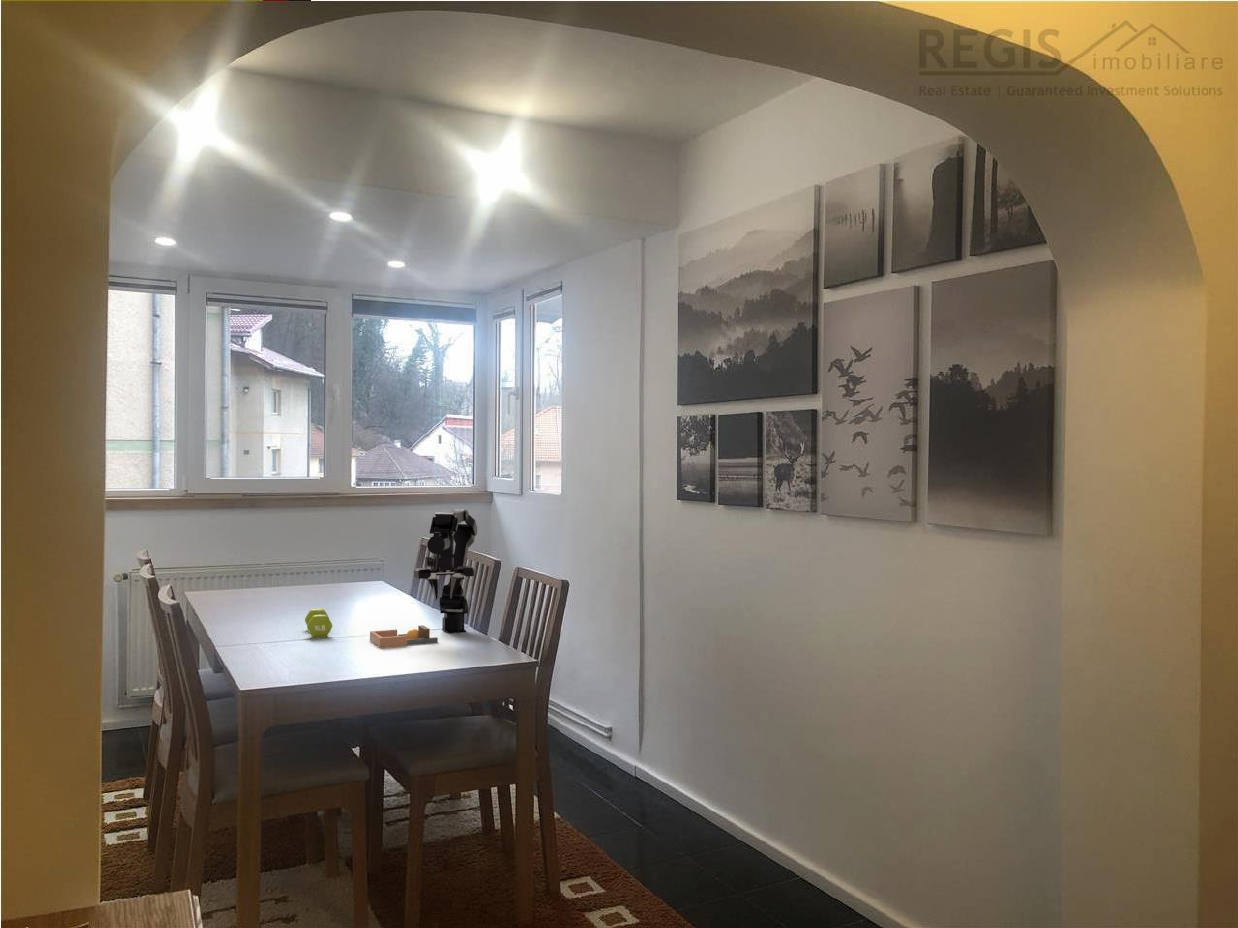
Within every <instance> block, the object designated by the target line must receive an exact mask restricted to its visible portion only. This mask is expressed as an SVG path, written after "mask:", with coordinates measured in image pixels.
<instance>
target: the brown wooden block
mask: <svg viewBox="0 0 1238 928" xmlns="http://www.w3.org/2000/svg"><path fill="white" fill-rule="evenodd" d="M417 630H418V631H419V634H420V636H419V638H418V639H420V638H431V637H430V634H431V633H430V632H431V631H430V630H431V628H428V627H427V626H425V625H418V629H417Z"/></svg>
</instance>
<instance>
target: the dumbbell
mask: <svg viewBox="0 0 1238 928" xmlns="http://www.w3.org/2000/svg"><path fill="white" fill-rule="evenodd" d="M304 622H305V624H306V628H307V630H308V632H309V634H310V635H311V637H312V638H314V639H315V638H317V637H319V638H326V637H327V636H329V633H331V630H332V628H333V623H332V621H331V620H330V617H329V615H328V613H327V611H326V610H325V609H323V608H312V609H310V610H309V611H308V613H307V614H306V615H305V618H304Z"/></svg>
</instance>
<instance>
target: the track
mask: <svg viewBox="0 0 1238 928" xmlns="http://www.w3.org/2000/svg"><path fill="white" fill-rule="evenodd" d="M397 636H407V633H403V634H402V633H401V634H399V633H398V634H397ZM438 642H439V638H438V637H437V636H435V637H430V638H420V639H419V638H418V639H408V638H407V646H410V645H421V644H422V645H423V644H434V643H435V644H437V643H438Z"/></svg>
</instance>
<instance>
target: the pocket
mask: <svg viewBox="0 0 1238 928" xmlns="http://www.w3.org/2000/svg"><path fill="white" fill-rule="evenodd" d="M407 640H408V639H407V636H398V629H386V630H385V629H383V630H382V629H381V630H370V631H369V641H370V642H371V643H372V642H373V643H372V644H374V645H376V646H377V647H378V648H379V649H382V648H393V647H394V648H396V647H407V646H408V645H407Z"/></svg>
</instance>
